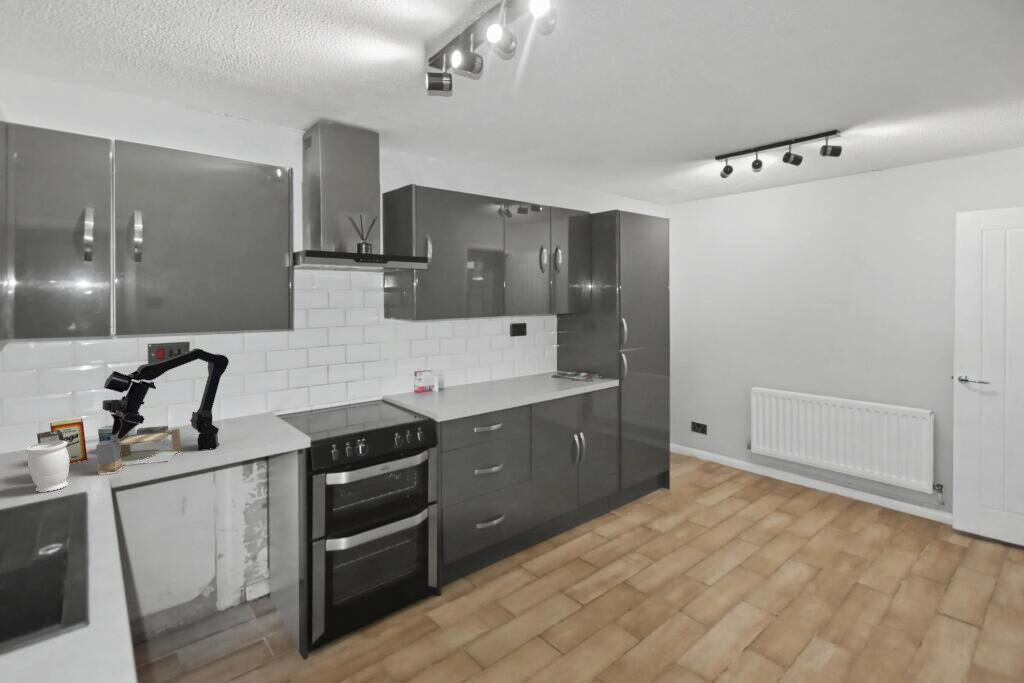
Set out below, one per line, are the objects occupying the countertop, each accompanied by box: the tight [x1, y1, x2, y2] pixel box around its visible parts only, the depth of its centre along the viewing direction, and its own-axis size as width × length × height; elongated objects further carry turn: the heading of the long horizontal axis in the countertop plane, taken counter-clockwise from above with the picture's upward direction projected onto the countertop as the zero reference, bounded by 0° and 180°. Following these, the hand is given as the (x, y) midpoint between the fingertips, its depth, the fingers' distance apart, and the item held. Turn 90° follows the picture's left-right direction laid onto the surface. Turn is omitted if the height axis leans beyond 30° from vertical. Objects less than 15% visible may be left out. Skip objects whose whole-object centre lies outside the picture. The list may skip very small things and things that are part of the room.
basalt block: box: [95, 440, 121, 464], centre depth 189 cm, size 5×5×7 cm
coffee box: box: [36, 430, 64, 444], centre depth 185 cm, size 9×6×16 cm
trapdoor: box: [119, 425, 172, 445], centre depth 205 cm, size 14×14×3 cm
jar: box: [25, 441, 70, 493], centre depth 175 cm, size 11×10×15 cm
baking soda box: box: [49, 417, 88, 464], centre depth 202 cm, size 10×6×16 cm
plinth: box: [96, 457, 123, 475], centre depth 190 cm, size 5×5×4 cm
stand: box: [120, 428, 182, 465], centre depth 204 cm, size 20×15×9 cm
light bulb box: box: [97, 424, 138, 453], centre depth 213 cm, size 11×7×11 cm, turn 92°
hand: (116, 436), depth 193 cm, fingers open, 6 cm apart
